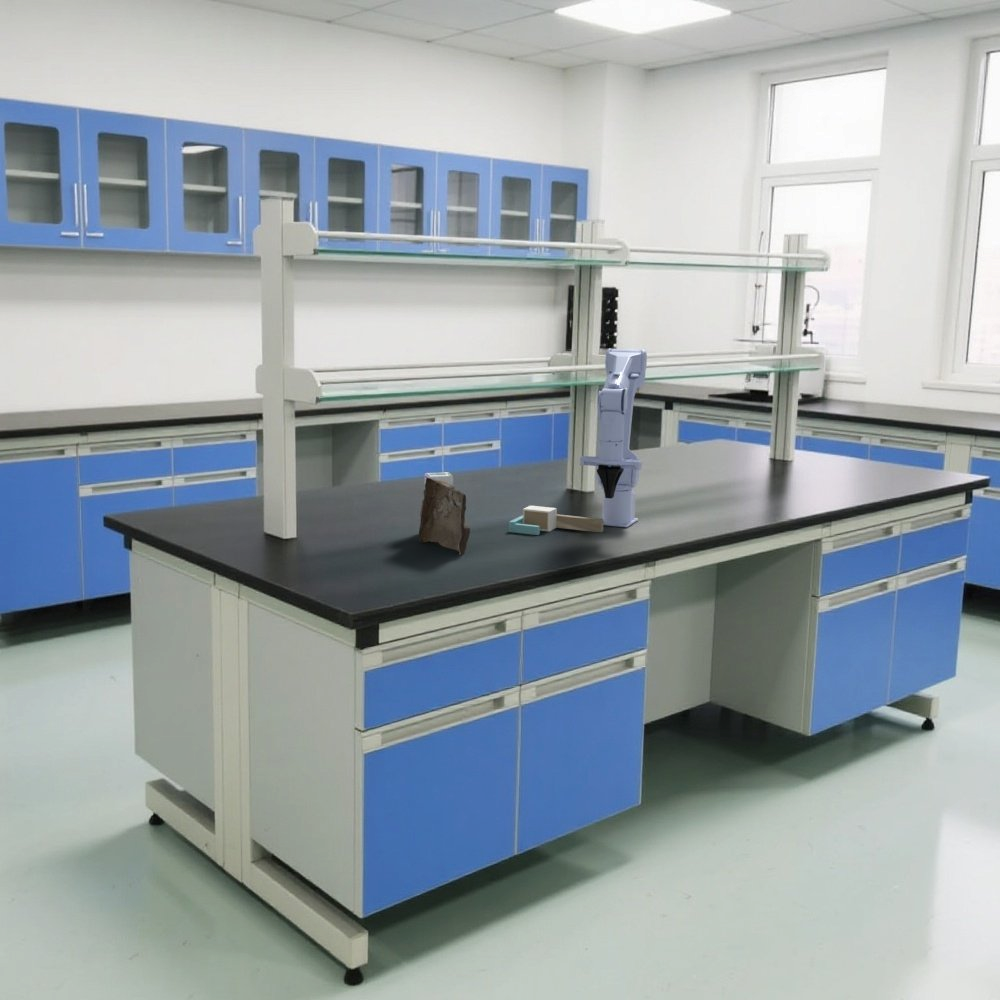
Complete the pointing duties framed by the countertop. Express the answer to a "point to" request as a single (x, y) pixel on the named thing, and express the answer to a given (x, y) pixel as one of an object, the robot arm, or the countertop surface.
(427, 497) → the mineral sample
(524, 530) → the teal l-shaped block
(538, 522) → the cabinet block
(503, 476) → the countertop surface
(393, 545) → the countertop surface
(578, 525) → the wall board
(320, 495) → the countertop surface
